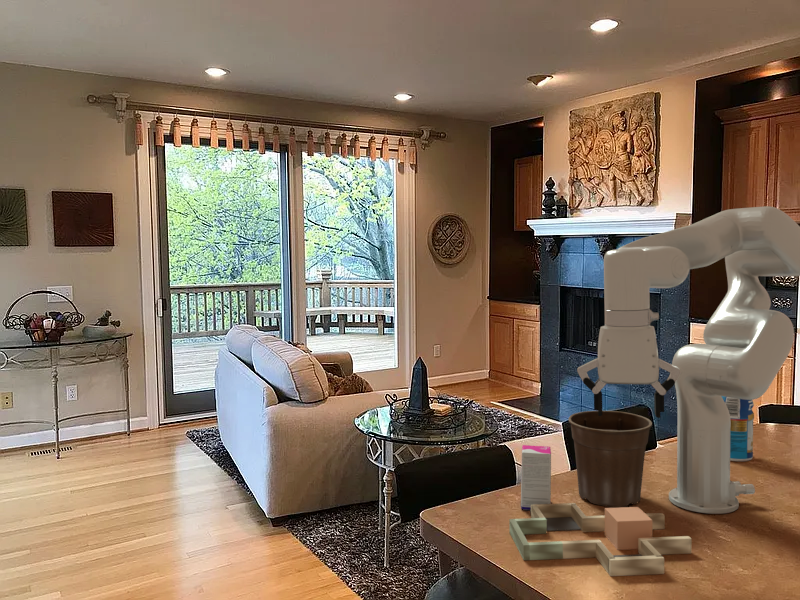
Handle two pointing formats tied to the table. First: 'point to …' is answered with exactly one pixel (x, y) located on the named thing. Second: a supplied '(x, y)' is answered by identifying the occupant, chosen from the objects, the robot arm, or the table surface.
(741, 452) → the blue cylindrical canister
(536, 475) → the supplement box
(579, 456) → the plant pot
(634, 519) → the terracotta block
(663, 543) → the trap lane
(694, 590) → the table surface
